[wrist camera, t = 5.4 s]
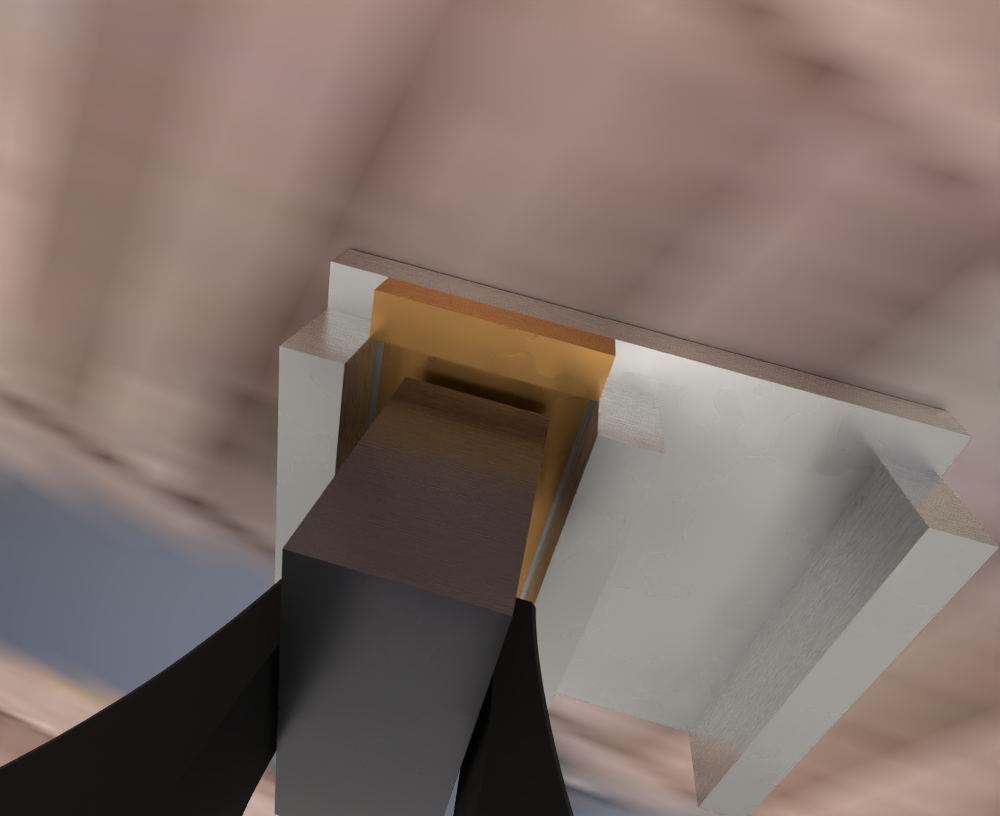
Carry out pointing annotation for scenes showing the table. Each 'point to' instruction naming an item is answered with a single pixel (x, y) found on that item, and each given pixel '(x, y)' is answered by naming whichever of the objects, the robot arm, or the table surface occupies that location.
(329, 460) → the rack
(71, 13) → the table surface
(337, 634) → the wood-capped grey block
